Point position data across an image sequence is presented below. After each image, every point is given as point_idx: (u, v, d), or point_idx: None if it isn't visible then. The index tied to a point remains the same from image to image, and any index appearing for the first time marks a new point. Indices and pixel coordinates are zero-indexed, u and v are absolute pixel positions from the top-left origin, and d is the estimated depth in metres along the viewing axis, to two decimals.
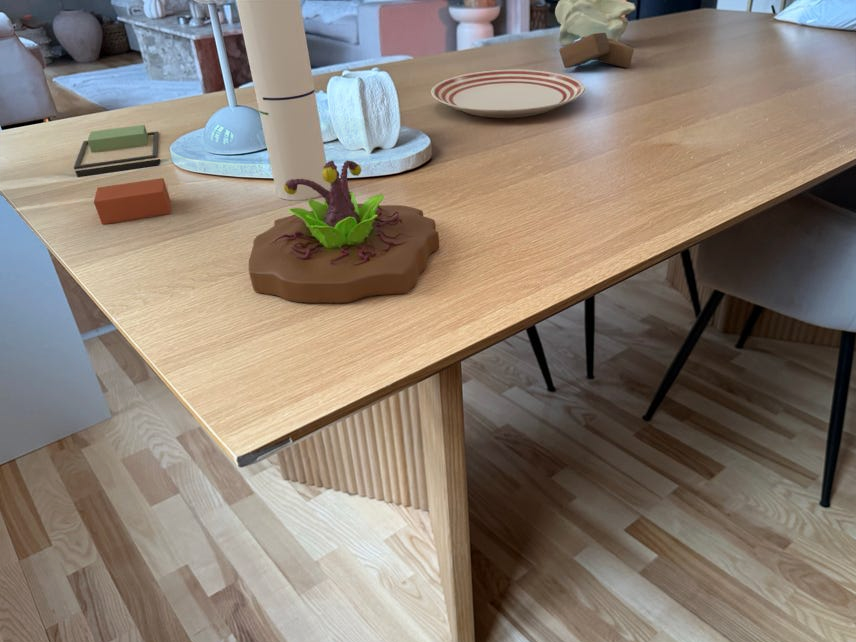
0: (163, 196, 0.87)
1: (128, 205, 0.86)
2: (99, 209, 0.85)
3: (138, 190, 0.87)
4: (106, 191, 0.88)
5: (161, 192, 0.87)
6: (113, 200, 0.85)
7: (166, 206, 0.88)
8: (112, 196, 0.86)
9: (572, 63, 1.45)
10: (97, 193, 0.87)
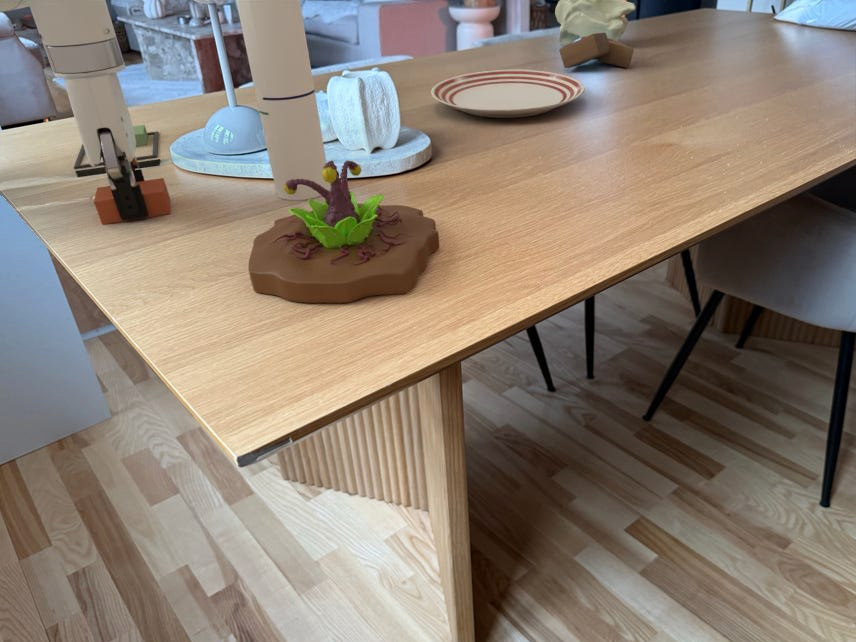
0: (163, 196, 0.87)
1: None
2: (99, 209, 0.85)
3: None
4: (106, 191, 0.88)
5: (161, 192, 0.87)
6: (113, 200, 0.85)
7: (166, 206, 0.88)
8: (112, 196, 0.86)
9: (572, 63, 1.45)
10: (97, 193, 0.87)
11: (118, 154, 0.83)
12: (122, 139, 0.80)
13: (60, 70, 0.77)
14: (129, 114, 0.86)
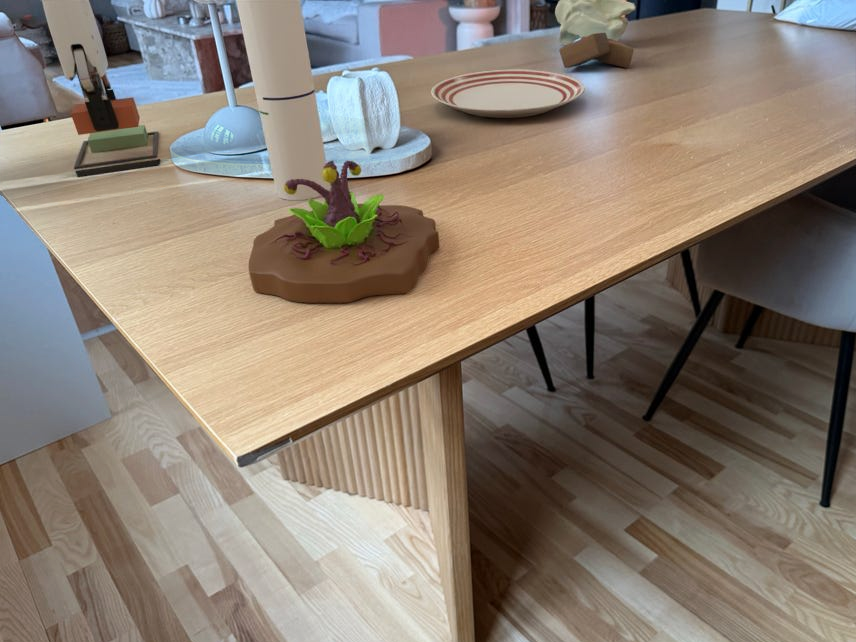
0: (132, 110, 1.00)
1: None
2: (75, 120, 0.98)
3: None
4: (82, 106, 1.00)
5: (130, 106, 0.99)
6: (88, 113, 0.98)
7: (135, 119, 1.00)
8: None
9: (572, 63, 1.45)
10: (74, 108, 1.00)
11: (90, 70, 0.95)
12: (93, 54, 0.93)
13: None
14: None
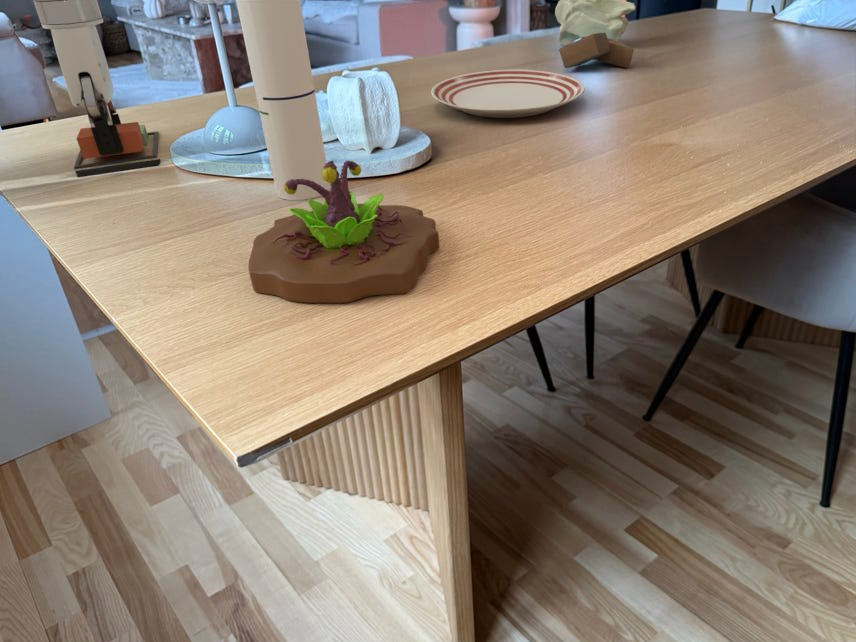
0: (137, 135, 1.01)
1: None
2: (81, 145, 1.00)
3: None
4: (88, 131, 1.02)
5: (135, 132, 1.01)
6: (93, 138, 1.00)
7: (139, 144, 1.02)
8: (92, 134, 1.00)
9: (572, 63, 1.45)
10: (80, 132, 1.01)
11: (97, 96, 0.97)
12: (100, 82, 0.95)
13: (47, 22, 0.91)
14: (107, 64, 1.01)
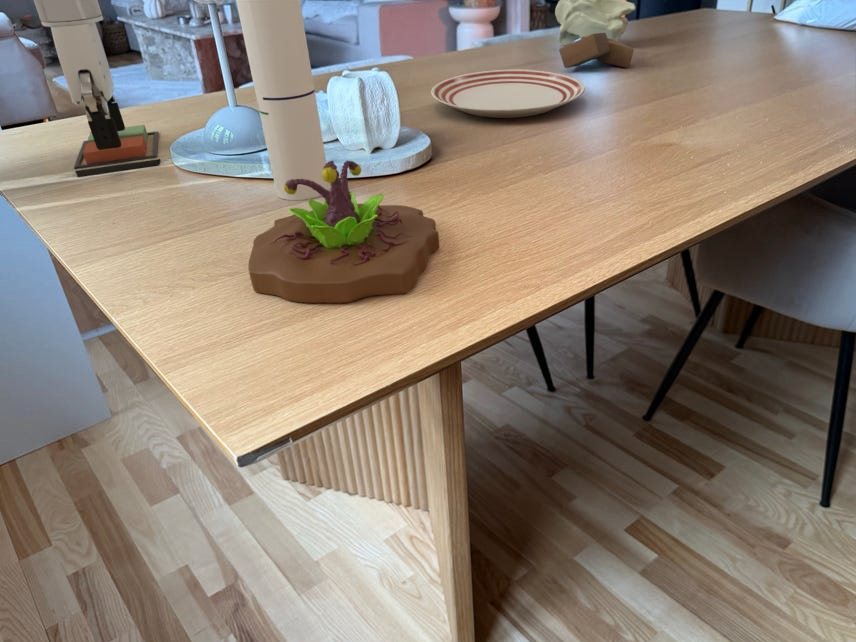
0: (142, 149, 1.03)
1: (112, 156, 1.02)
2: (87, 159, 1.01)
3: (121, 145, 1.03)
4: (94, 145, 1.03)
5: (140, 146, 1.02)
6: (100, 152, 1.01)
7: None
8: None
9: (572, 63, 1.45)
10: (86, 147, 1.03)
11: (96, 95, 0.96)
12: (100, 79, 0.95)
13: (47, 19, 0.91)
14: (107, 62, 1.00)
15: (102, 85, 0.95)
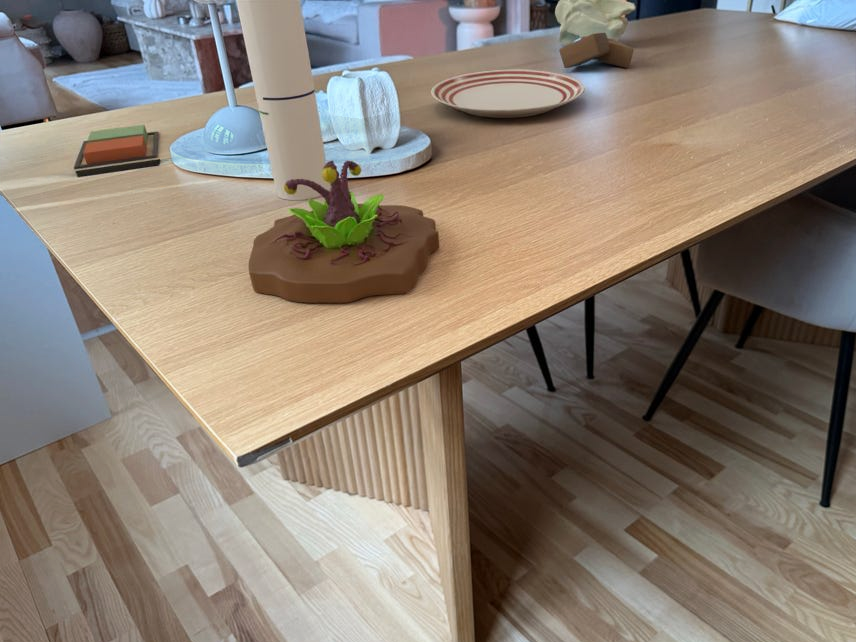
0: (142, 149, 1.03)
1: (112, 156, 1.02)
2: (87, 159, 1.01)
3: (121, 145, 1.03)
4: (94, 145, 1.03)
5: (140, 146, 1.02)
6: (100, 152, 1.01)
7: None
8: (98, 149, 1.01)
9: (572, 63, 1.45)
10: (86, 147, 1.03)
11: None
12: None
13: None
14: None
15: None
